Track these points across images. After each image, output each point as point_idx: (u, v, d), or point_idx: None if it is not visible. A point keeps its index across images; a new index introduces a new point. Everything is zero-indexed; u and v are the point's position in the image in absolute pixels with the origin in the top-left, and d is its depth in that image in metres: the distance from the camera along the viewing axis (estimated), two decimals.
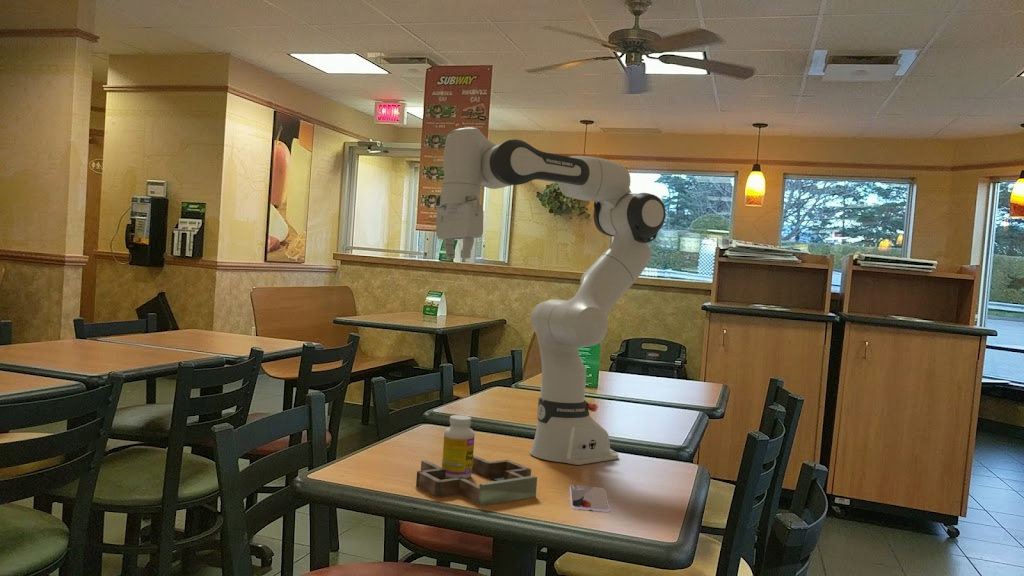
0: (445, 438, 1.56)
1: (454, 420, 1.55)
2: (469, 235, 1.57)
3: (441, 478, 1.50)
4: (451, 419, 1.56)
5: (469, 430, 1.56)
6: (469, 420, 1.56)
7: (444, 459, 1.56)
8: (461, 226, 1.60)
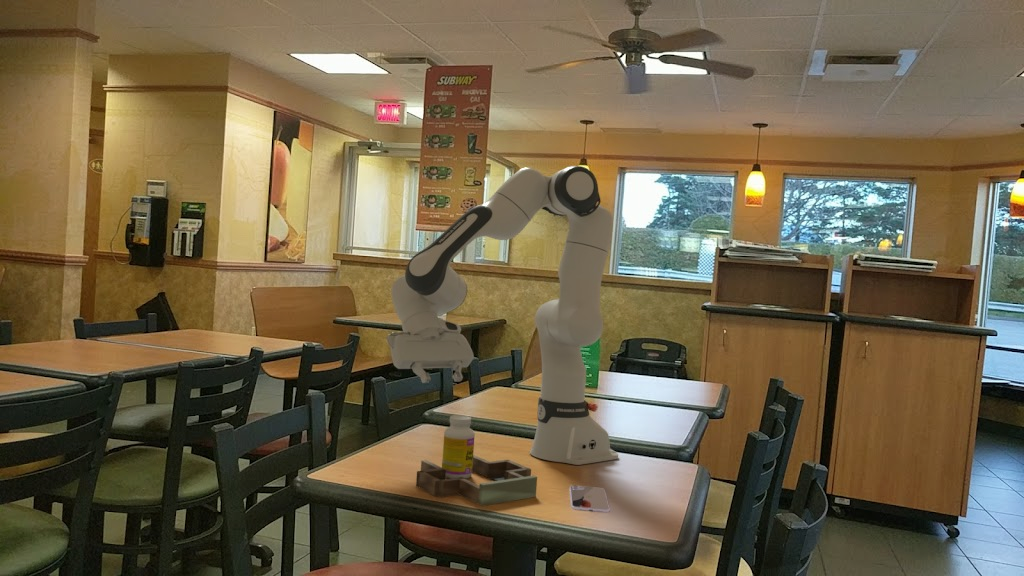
0: (445, 438, 1.56)
1: (454, 420, 1.55)
2: (397, 367, 1.61)
3: (441, 478, 1.50)
4: (451, 419, 1.56)
5: (469, 430, 1.56)
6: (469, 420, 1.56)
7: (444, 459, 1.56)
8: None
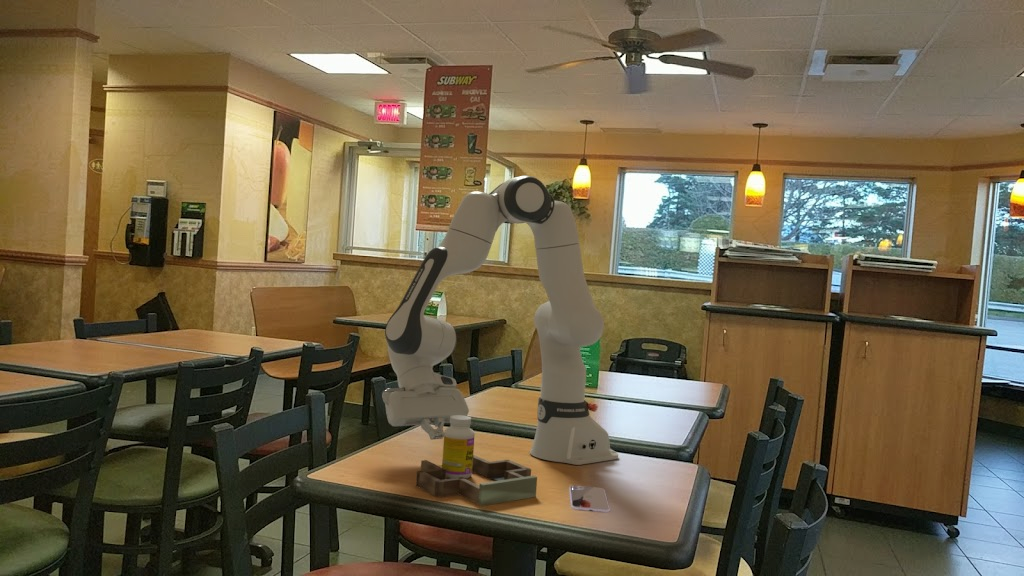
0: (445, 438, 1.56)
1: (454, 420, 1.55)
2: (392, 425, 1.61)
3: (441, 478, 1.50)
4: (451, 419, 1.56)
5: (469, 430, 1.56)
6: (469, 420, 1.56)
7: (444, 459, 1.56)
8: None
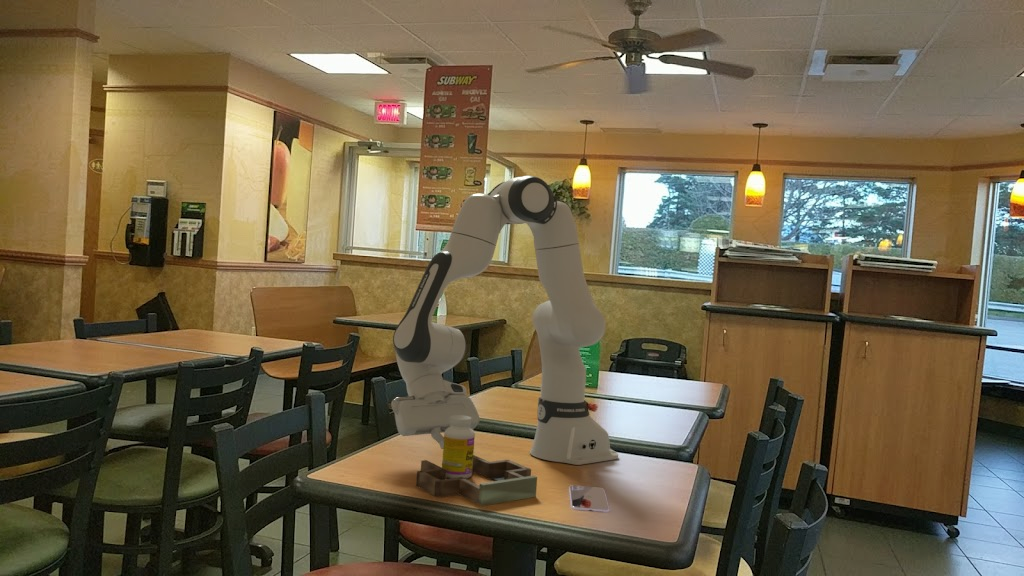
0: (445, 438, 1.56)
1: (454, 420, 1.55)
2: (402, 435, 1.58)
3: (441, 478, 1.50)
4: (451, 419, 1.56)
5: (469, 430, 1.56)
6: (469, 420, 1.56)
7: (444, 459, 1.55)
8: None
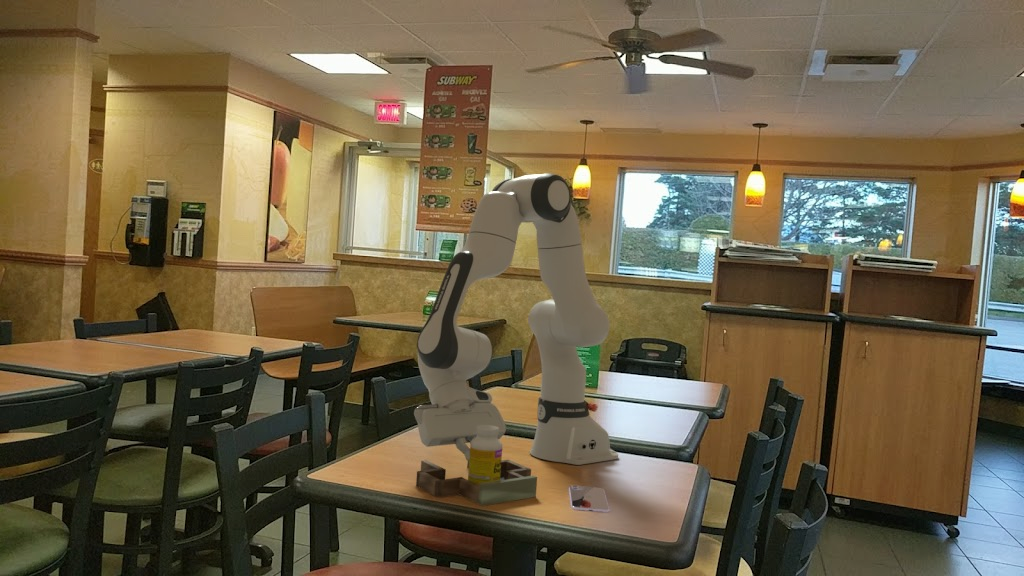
0: (471, 449, 1.47)
1: (481, 430, 1.47)
2: (426, 445, 1.50)
3: (441, 478, 1.50)
4: (478, 429, 1.47)
5: (497, 441, 1.48)
6: (497, 430, 1.48)
7: (470, 472, 1.47)
8: None
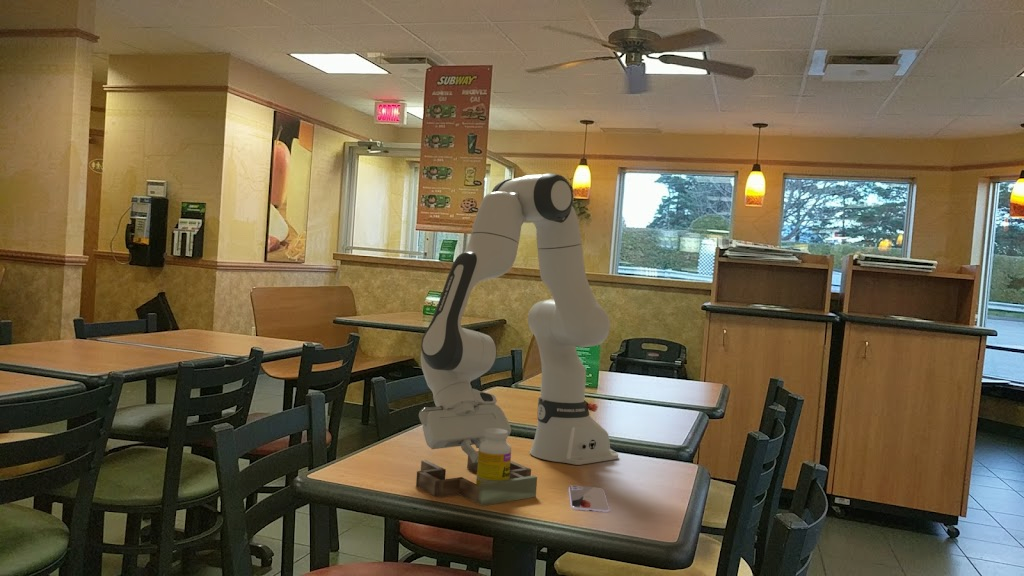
0: (480, 453, 1.45)
1: (490, 434, 1.44)
2: (431, 448, 1.48)
3: (441, 478, 1.50)
4: (486, 433, 1.45)
5: (506, 445, 1.45)
6: (506, 434, 1.45)
7: (479, 476, 1.45)
8: None
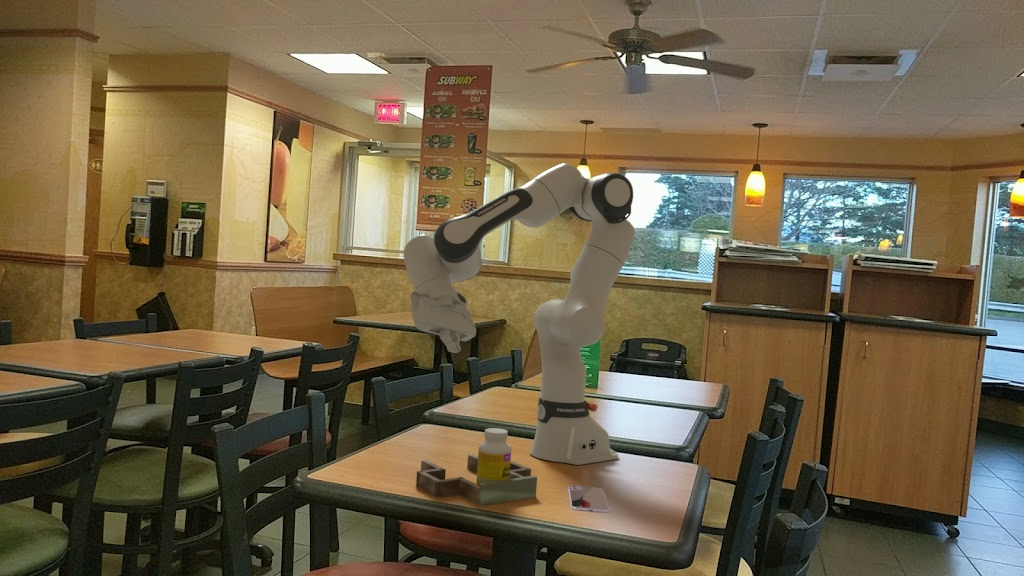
0: (480, 453, 1.45)
1: (490, 434, 1.44)
2: (419, 328, 1.57)
3: (441, 478, 1.50)
4: (486, 433, 1.45)
5: (506, 445, 1.45)
6: (506, 434, 1.45)
7: (479, 476, 1.45)
8: None
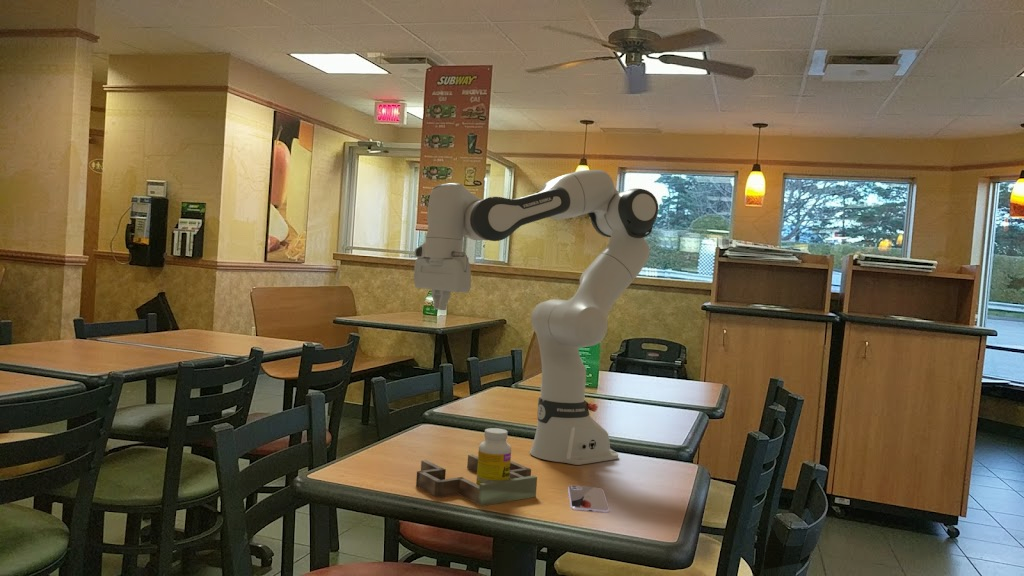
0: (480, 453, 1.45)
1: (490, 434, 1.44)
2: (458, 291, 1.63)
3: (441, 478, 1.50)
4: (486, 433, 1.45)
5: (506, 444, 1.45)
6: (506, 434, 1.45)
7: (479, 476, 1.45)
8: (448, 281, 1.65)
